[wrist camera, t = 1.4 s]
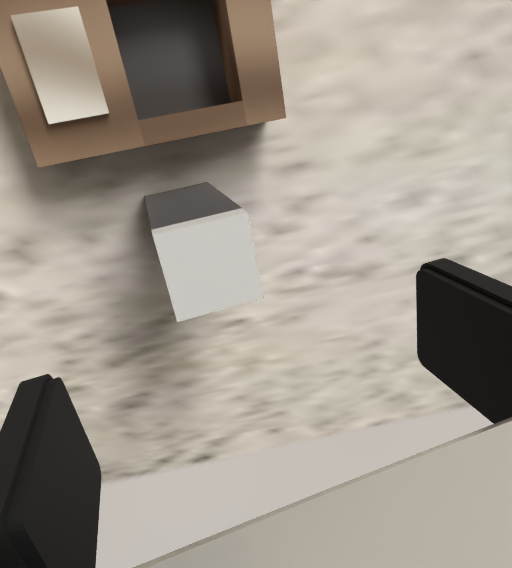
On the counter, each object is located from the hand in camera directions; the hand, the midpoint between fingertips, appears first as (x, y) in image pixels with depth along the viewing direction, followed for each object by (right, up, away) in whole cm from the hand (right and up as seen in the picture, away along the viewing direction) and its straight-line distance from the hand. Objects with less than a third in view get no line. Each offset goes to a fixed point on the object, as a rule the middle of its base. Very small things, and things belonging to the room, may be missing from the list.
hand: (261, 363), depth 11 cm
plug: (-5, +6, +16) cm, 18 cm away
